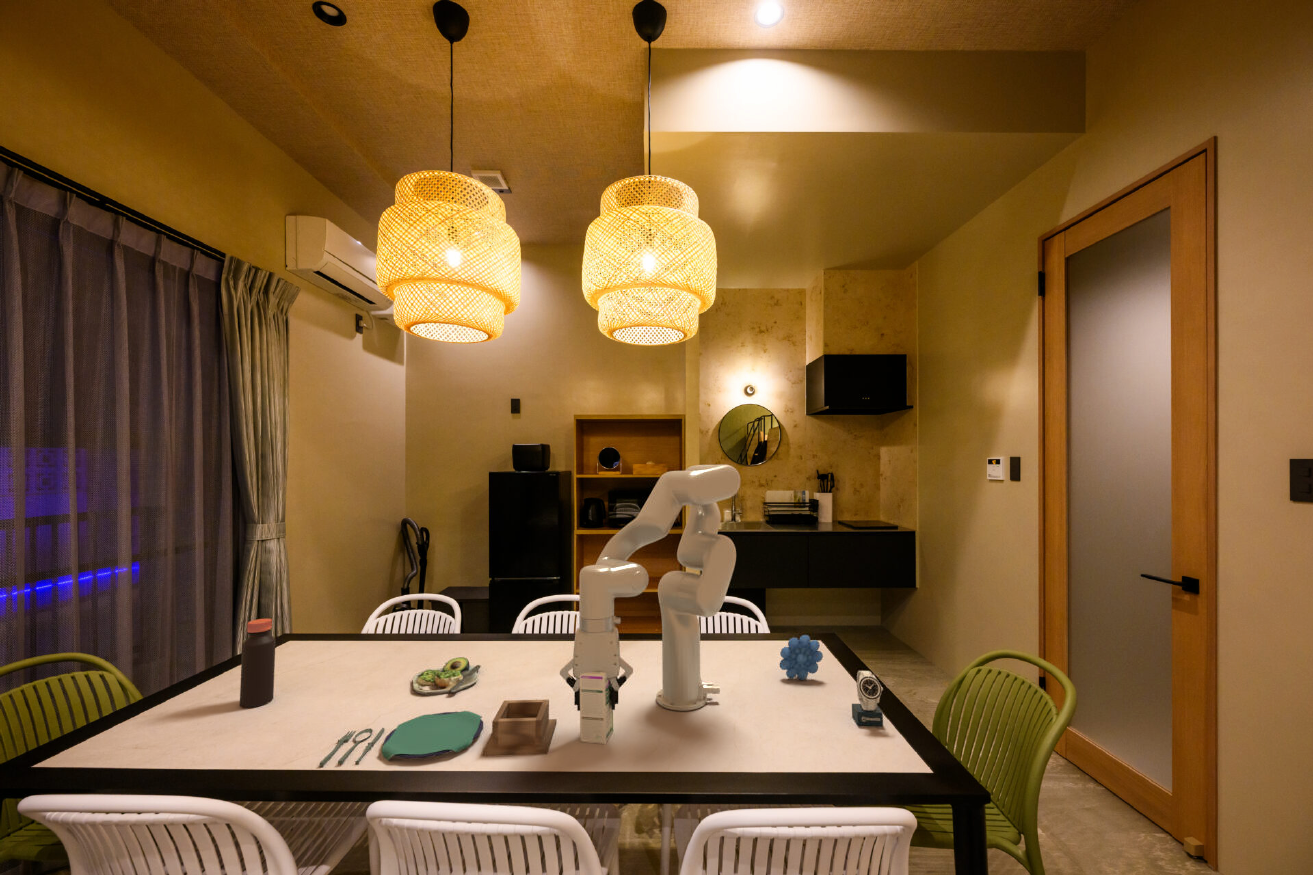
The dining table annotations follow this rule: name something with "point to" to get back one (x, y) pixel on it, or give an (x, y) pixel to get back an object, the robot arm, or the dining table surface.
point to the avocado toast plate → (447, 677)
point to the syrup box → (595, 707)
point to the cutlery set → (421, 736)
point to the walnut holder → (521, 729)
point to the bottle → (257, 665)
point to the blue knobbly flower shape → (800, 657)
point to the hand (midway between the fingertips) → (596, 706)
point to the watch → (867, 701)
